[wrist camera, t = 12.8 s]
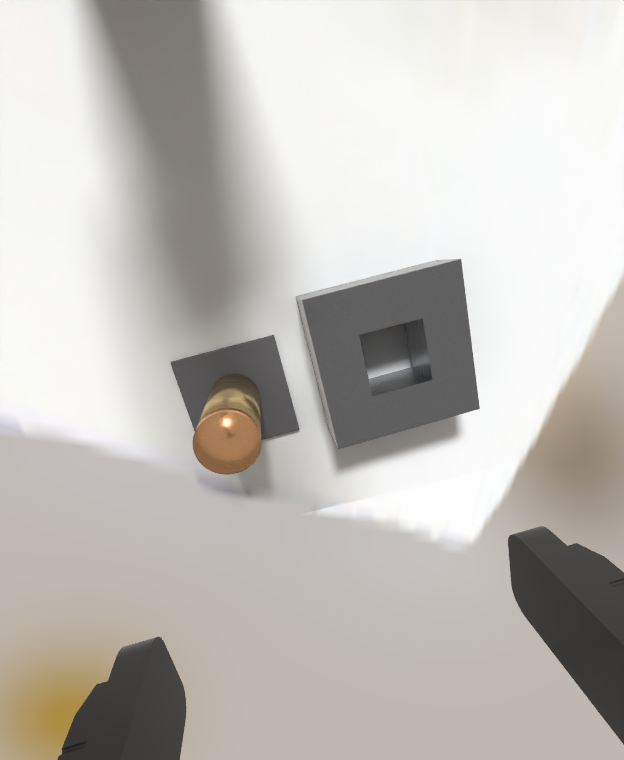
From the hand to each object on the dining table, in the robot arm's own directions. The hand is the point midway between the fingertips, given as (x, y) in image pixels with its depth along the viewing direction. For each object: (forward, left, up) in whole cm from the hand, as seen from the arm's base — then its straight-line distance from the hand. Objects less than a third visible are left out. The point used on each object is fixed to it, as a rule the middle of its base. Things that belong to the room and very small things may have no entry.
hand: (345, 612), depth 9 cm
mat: (+3, -5, -31) cm, 32 cm away
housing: (+2, +10, -31) cm, 33 cm away
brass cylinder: (+3, -5, -31) cm, 31 cm away
